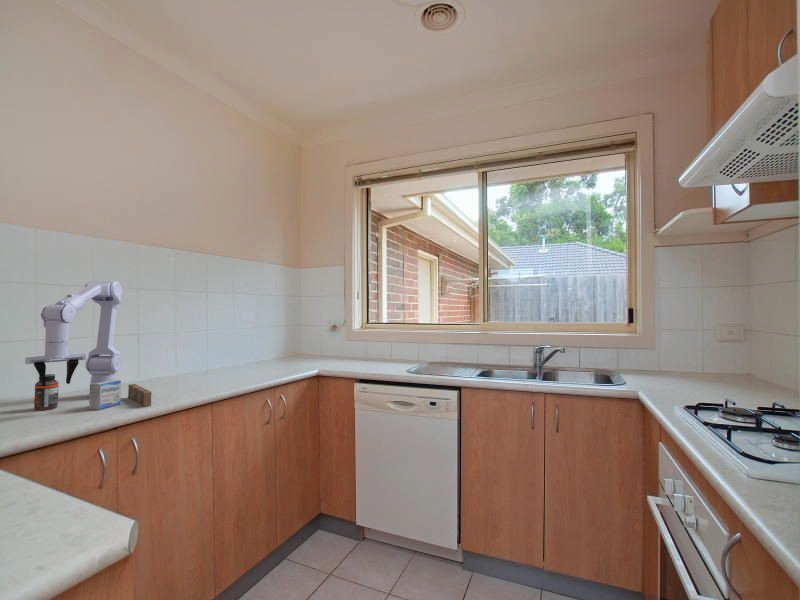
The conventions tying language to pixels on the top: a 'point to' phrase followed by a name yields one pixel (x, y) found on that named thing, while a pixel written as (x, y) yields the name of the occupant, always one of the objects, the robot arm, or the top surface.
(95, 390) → the medicine box
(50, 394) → the supplement bottle
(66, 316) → the robot arm
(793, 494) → the top surface
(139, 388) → the walnut board
